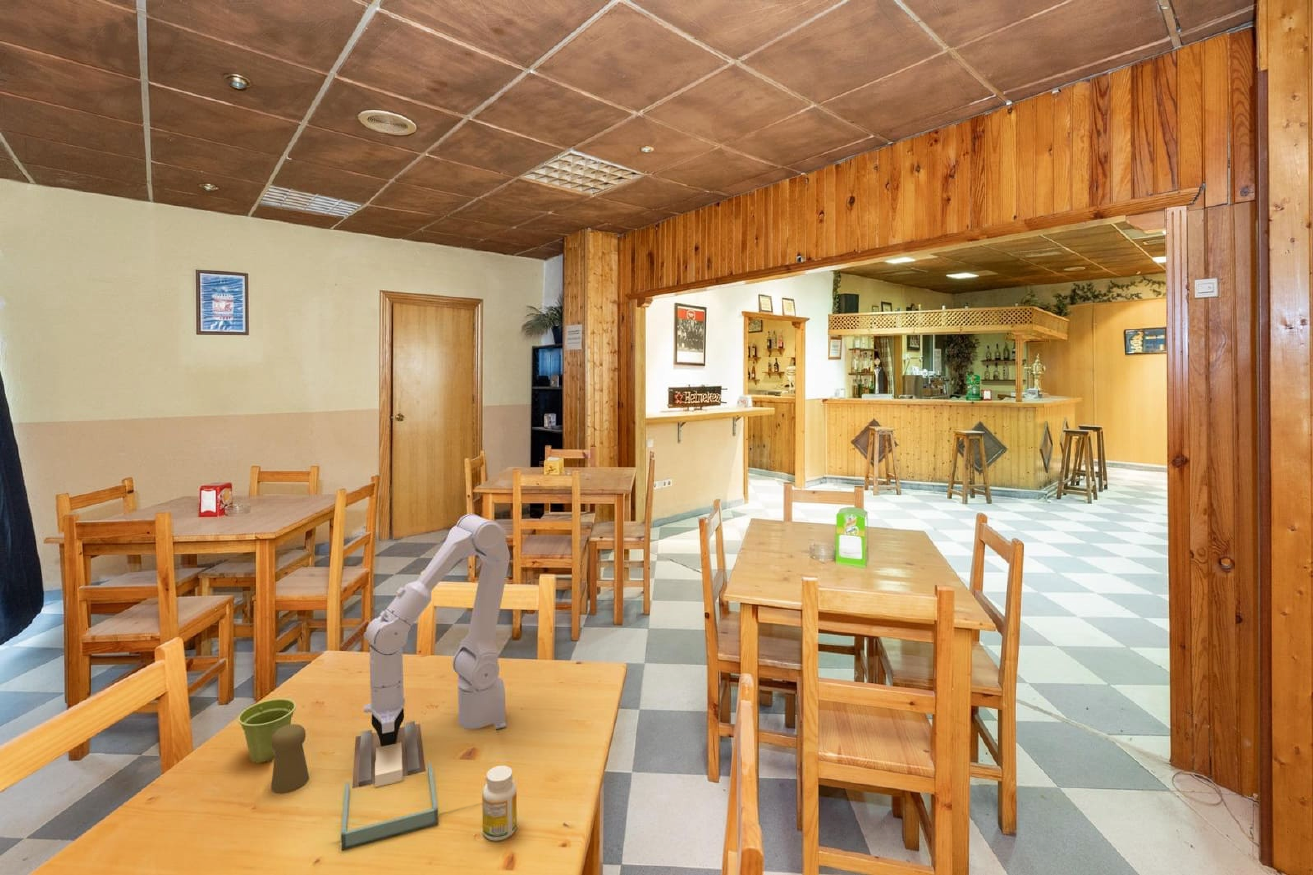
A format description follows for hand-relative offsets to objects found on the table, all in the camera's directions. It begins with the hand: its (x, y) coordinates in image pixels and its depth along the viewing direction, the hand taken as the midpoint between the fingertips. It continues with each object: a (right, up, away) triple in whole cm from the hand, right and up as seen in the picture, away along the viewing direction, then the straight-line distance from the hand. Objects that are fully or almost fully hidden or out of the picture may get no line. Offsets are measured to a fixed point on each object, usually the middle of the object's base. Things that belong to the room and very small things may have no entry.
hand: (388, 749), depth 116 cm
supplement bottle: (+26, -4, -18) cm, 32 cm away
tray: (+6, -3, -14) cm, 16 cm away
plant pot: (-23, -2, +1) cm, 24 cm away
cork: (-14, -3, -9) cm, 16 cm away
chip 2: (+3, -1, -7) cm, 8 cm away
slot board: (0, -2, 0) cm, 2 cm away
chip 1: (+1, -1, -3) cm, 3 cm away
